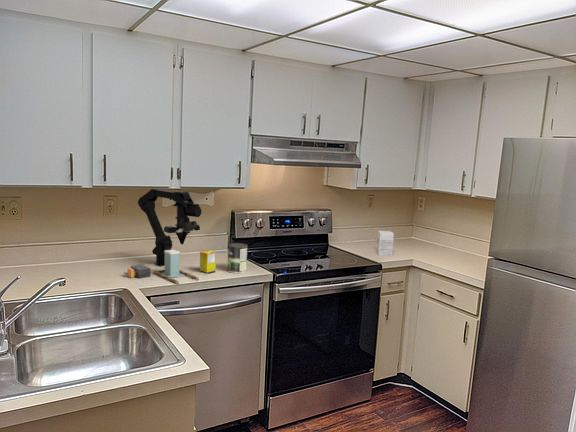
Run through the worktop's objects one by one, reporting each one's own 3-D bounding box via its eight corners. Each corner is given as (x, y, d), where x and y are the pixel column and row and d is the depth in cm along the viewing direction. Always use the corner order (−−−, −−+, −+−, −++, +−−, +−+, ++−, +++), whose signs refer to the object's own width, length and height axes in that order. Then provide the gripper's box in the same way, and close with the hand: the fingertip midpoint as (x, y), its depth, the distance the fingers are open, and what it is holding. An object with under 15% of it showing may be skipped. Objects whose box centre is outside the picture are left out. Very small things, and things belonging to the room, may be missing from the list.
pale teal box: (164, 273, 235) (164, 250, 233) (173, 271, 239) (173, 249, 237) (170, 276, 231) (170, 253, 229) (179, 274, 234) (179, 251, 232)
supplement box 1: (208, 269, 247) (208, 249, 246) (215, 272, 244) (216, 251, 242) (199, 271, 243) (199, 251, 241) (207, 274, 239) (207, 253, 238)
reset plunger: (127, 276, 229) (127, 268, 228) (141, 274, 234) (141, 266, 233) (131, 278, 226) (131, 270, 225) (144, 275, 231) (144, 267, 230)
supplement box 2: (376, 252, 307) (377, 230, 305) (390, 253, 307) (391, 231, 305) (378, 255, 298) (380, 232, 296) (392, 256, 298) (394, 233, 296)
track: (153, 273, 236) (153, 271, 236) (175, 270, 244) (175, 267, 244) (176, 284, 220) (176, 281, 220) (198, 279, 228) (198, 277, 228)
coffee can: (230, 273, 241) (230, 247, 239) (225, 268, 251) (226, 243, 249) (249, 272, 245) (249, 246, 243) (243, 267, 254) (244, 242, 252)
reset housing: (130, 274, 233) (130, 266, 232) (141, 272, 237) (141, 264, 236) (138, 278, 226) (138, 270, 225) (150, 276, 230) (150, 268, 230)
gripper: (174, 218, 232) (174, 249, 235) (205, 216, 245) (205, 245, 247) (163, 215, 240) (163, 245, 243) (194, 213, 253) (194, 241, 255)
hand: (182, 244), depth 247 cm, fingers closed
